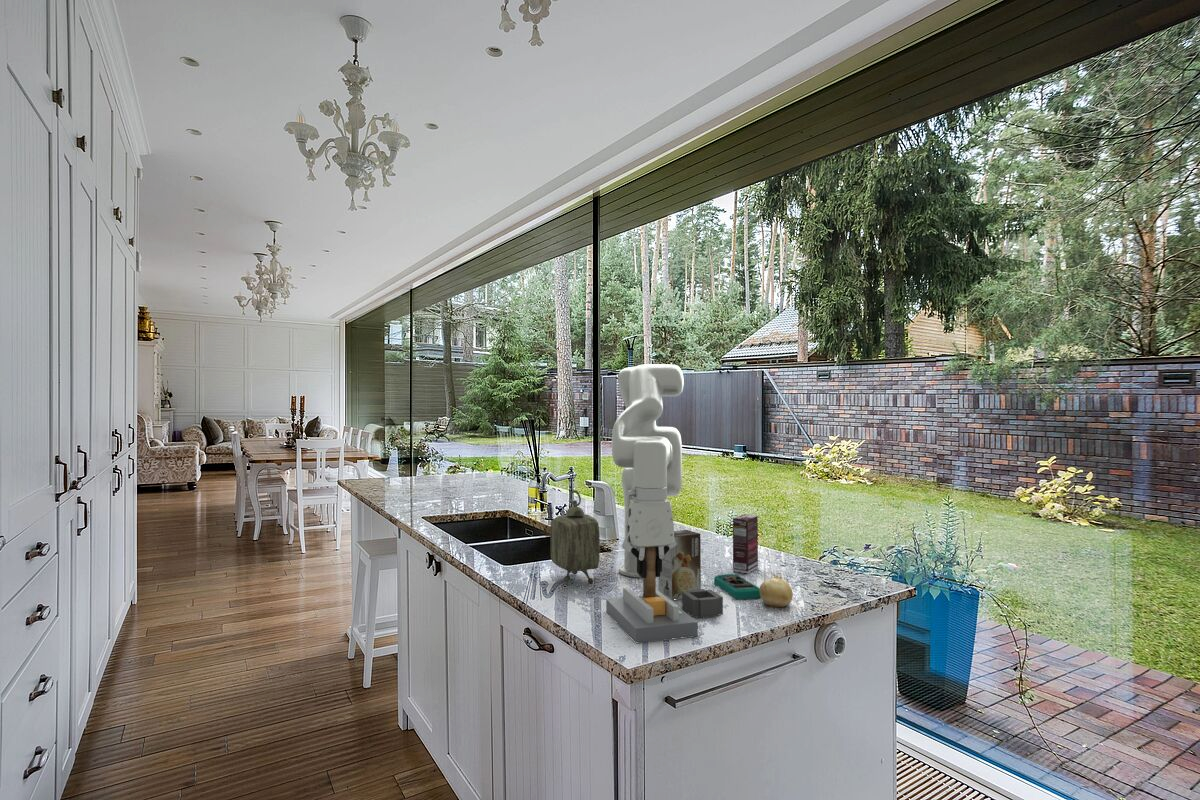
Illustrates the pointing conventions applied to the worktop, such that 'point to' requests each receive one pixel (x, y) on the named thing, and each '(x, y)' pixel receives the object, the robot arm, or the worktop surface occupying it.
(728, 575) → the digital multimeter
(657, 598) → the breaker handle
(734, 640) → the worktop surface
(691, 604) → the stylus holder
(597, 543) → the tabletop clock
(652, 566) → the stylus
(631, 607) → the grey slider track base
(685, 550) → the coffee box
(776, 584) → the onion
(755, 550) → the supplement box
